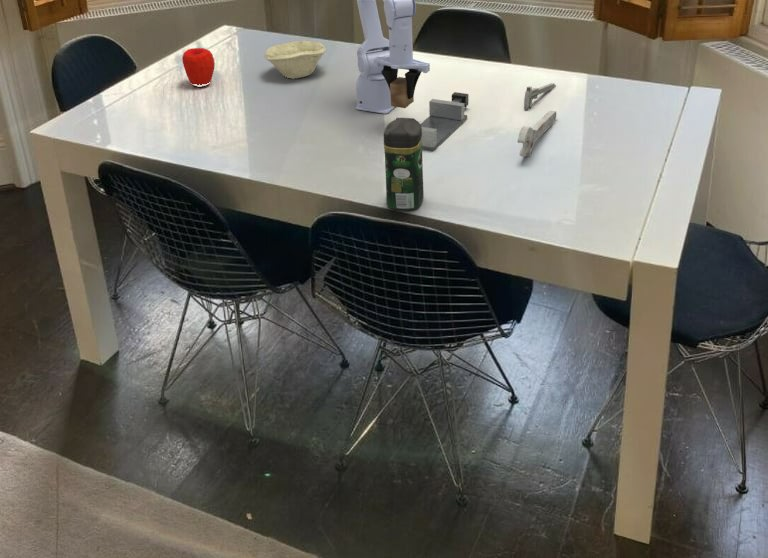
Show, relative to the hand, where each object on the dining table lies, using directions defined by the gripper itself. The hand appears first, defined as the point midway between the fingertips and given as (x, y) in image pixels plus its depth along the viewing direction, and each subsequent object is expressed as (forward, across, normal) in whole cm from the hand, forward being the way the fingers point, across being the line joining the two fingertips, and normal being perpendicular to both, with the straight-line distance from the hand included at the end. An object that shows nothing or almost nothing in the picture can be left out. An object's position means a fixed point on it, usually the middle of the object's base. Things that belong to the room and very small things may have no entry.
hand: (402, 96), depth 234 cm
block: (+2, 0, 0) cm, 2 cm away
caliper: (+9, +26, +33) cm, 43 cm away
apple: (+8, -69, +7) cm, 70 cm away
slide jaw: (+7, +9, +13) cm, 17 cm away
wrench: (+9, +34, +5) cm, 36 cm away
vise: (+8, +9, 0) cm, 12 cm away
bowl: (+8, -47, +25) cm, 54 cm away
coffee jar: (+9, +18, -38) cm, 43 cm away
